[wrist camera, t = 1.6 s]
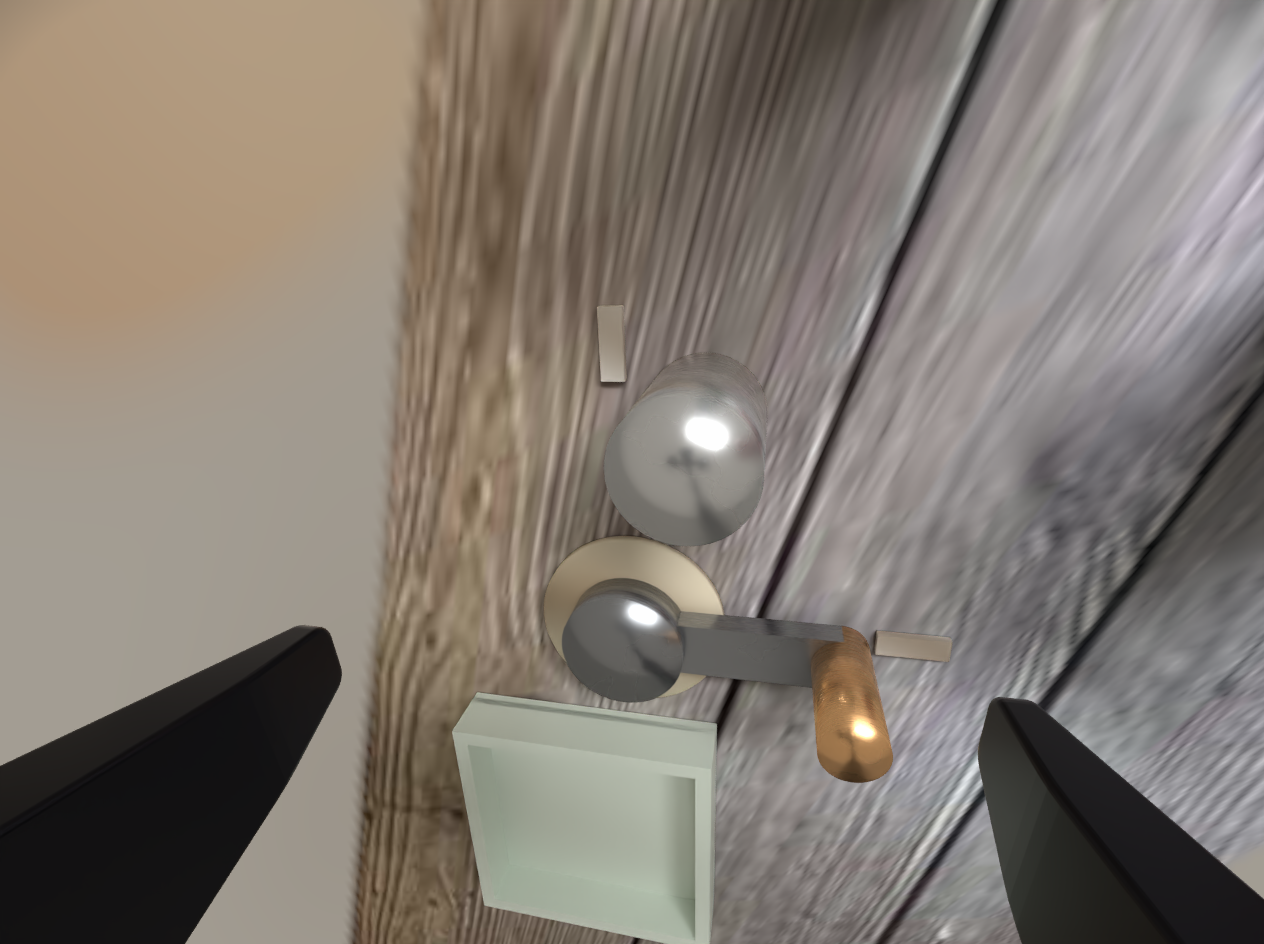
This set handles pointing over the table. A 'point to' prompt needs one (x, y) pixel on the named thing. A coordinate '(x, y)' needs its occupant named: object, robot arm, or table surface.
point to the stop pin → (691, 452)
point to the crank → (731, 664)
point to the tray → (592, 815)
